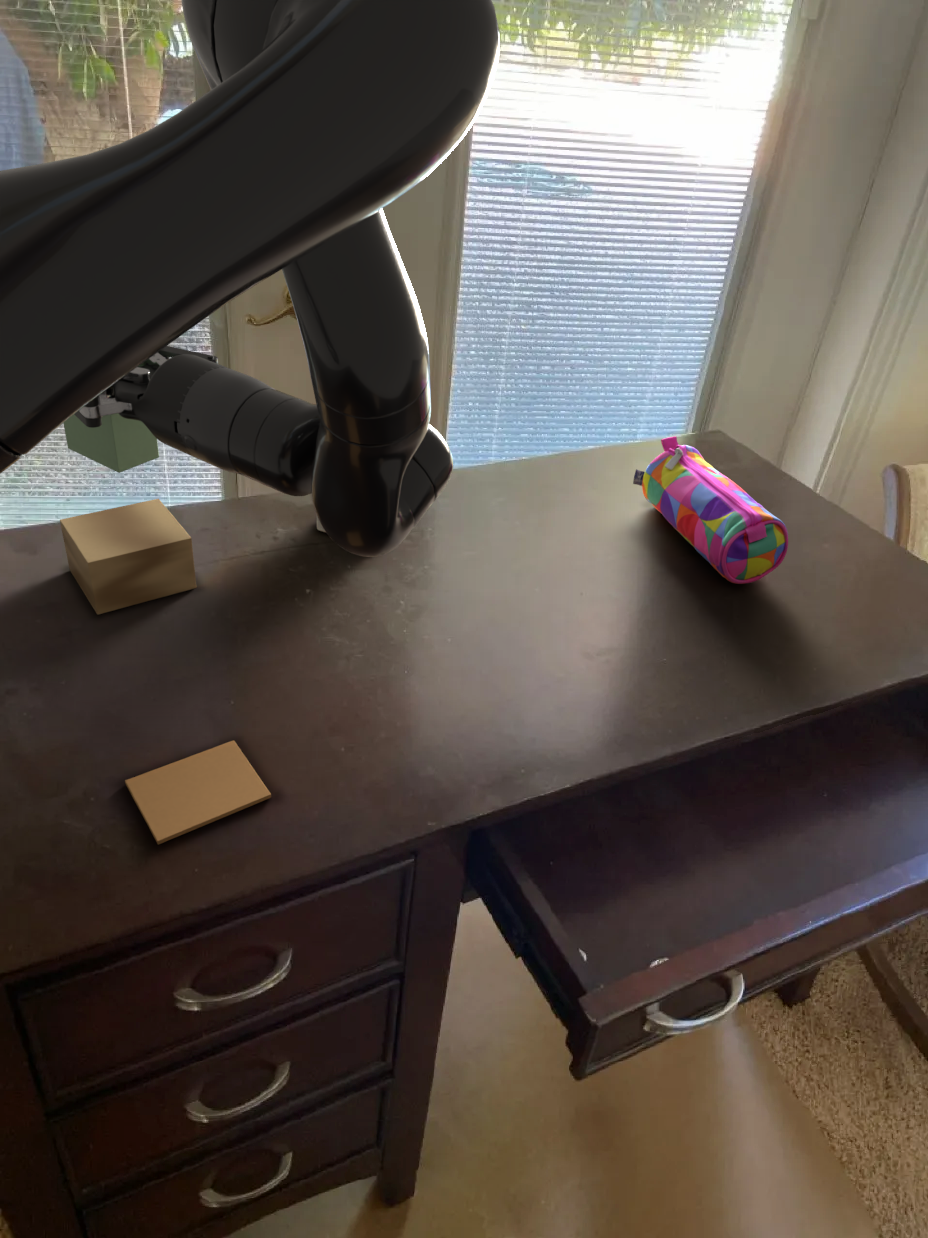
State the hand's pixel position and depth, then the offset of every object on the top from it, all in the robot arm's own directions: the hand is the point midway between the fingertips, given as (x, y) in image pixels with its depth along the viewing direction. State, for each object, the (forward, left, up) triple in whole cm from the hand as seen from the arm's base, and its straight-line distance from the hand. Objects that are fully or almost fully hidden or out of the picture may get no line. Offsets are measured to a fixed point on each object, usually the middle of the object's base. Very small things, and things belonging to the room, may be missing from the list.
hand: (80, 358), depth 77 cm
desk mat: (-4, -31, -24) cm, 39 cm away
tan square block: (+2, 0, -24) cm, 24 cm away
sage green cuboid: (+1, -3, -8) cm, 8 cm away
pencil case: (+63, -23, -24) cm, 71 cm away
